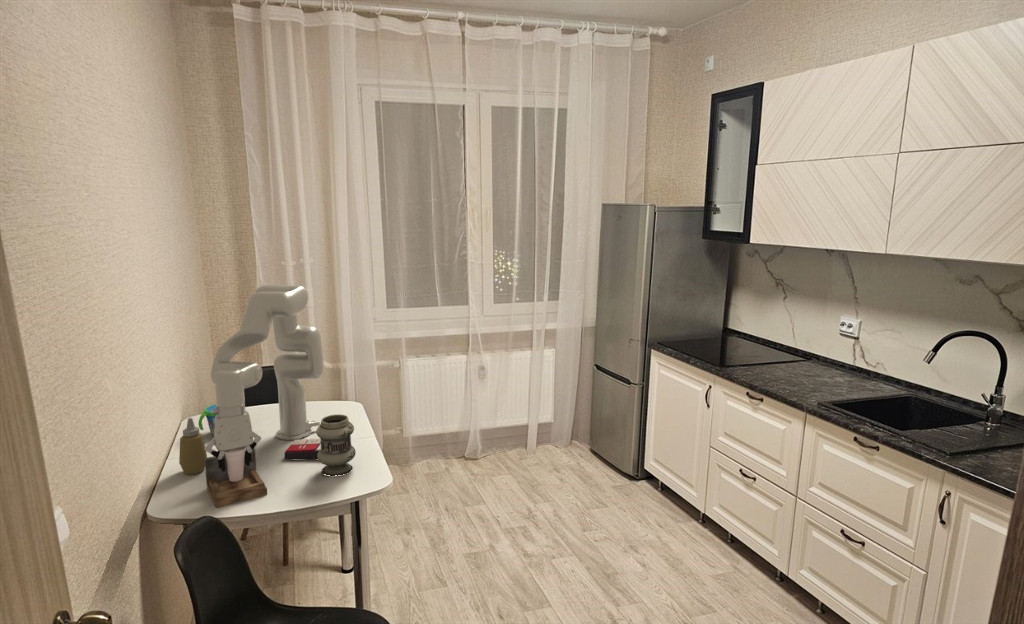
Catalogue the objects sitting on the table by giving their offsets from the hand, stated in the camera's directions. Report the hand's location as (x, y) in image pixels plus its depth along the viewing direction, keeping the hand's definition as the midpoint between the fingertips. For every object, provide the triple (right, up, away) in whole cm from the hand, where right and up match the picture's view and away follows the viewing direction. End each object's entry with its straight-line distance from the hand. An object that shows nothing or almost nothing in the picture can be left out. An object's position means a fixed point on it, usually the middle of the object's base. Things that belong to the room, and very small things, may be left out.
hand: (235, 466), depth 175 cm
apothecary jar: (+26, -6, +17) cm, 31 cm away
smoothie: (0, -4, +1) cm, 4 cm away
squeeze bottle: (-20, -6, +15) cm, 26 cm away
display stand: (0, -8, +1) cm, 8 cm away
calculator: (+13, -4, +30) cm, 33 cm away
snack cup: (-28, 0, +47) cm, 55 cm away
